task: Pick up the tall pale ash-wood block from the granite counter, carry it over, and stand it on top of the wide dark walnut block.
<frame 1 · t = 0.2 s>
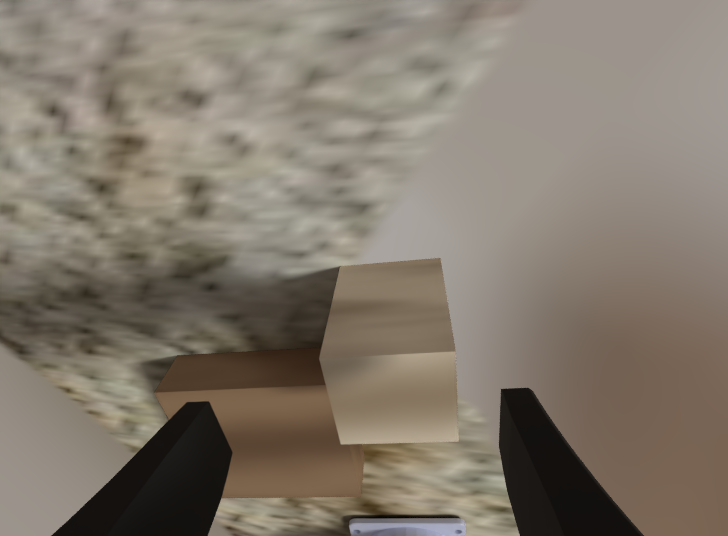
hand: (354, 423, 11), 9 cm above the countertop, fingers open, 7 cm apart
ash block: (394, 302, 20), on the countertop
walnut block: (279, 403, 25), on the countertop
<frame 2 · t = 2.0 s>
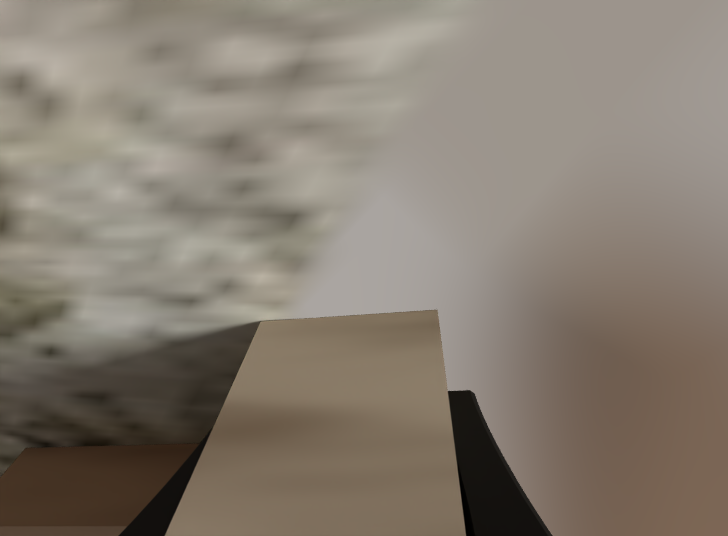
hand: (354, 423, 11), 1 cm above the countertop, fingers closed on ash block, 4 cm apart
ash block: (359, 380, 12), on the countertop, touching gripper
walnut block: (196, 509, 17), on the countertop
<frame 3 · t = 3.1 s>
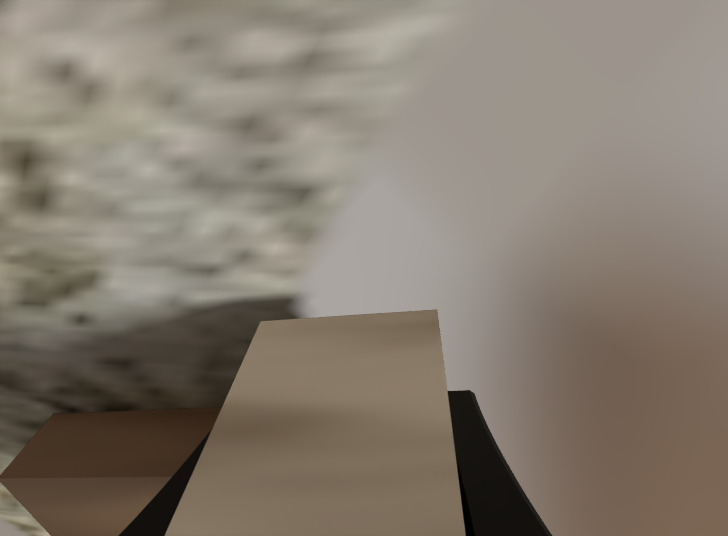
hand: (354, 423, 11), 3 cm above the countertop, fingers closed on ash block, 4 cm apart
ash block: (359, 380, 12), point 1 cm above the countertop, touching gripper
walnut block: (209, 474, 18), on the countertop
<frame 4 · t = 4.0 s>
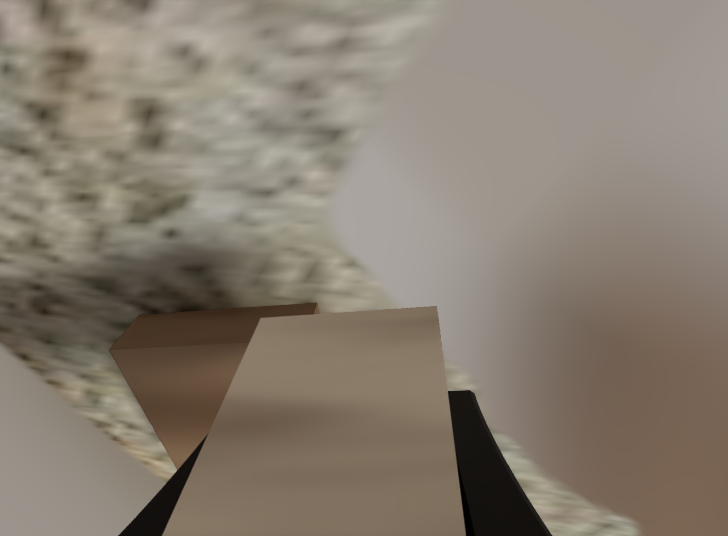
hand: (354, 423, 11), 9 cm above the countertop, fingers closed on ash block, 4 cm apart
ash block: (359, 377, 12), point 7 cm above the countertop, touching gripper
walnut block: (252, 371, 23), on the countertop
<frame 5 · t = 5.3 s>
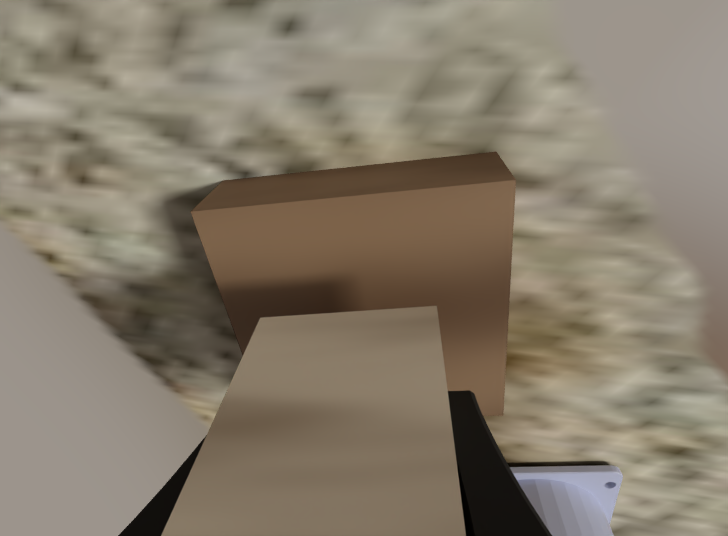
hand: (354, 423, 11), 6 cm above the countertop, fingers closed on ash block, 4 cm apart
ash block: (358, 376, 12), point 5 cm above the countertop, touching gripper
walnut block: (371, 276, 16), on the countertop
when the fingers open (6 cm above the countertop, at t = 6.2 s): ash block drops 2 cm, point 3 cm above the countertop.
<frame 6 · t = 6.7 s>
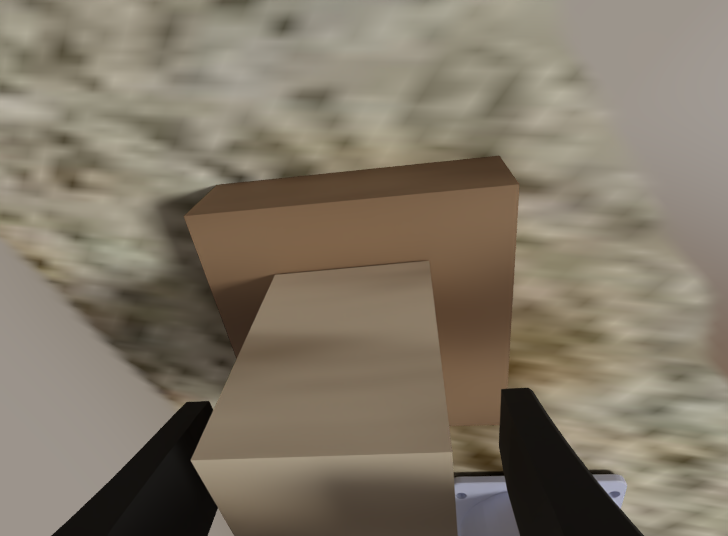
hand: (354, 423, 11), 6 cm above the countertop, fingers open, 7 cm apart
ash block: (361, 328, 13), point 3 cm above the countertop
walnut block: (370, 282, 16), on the countertop
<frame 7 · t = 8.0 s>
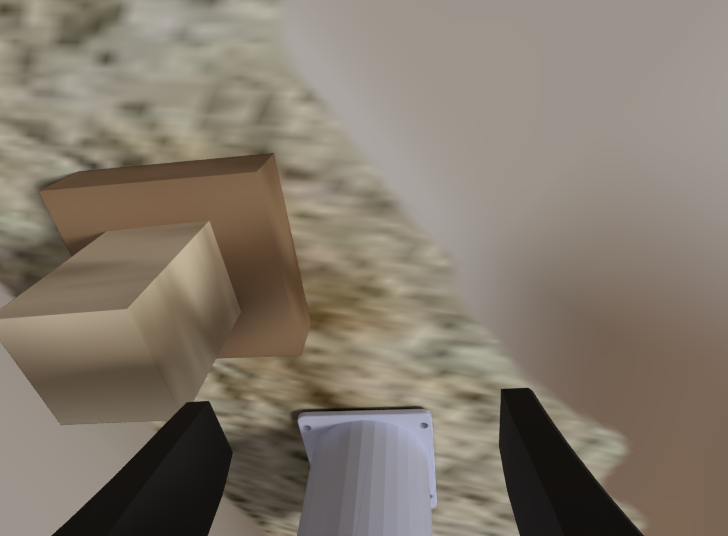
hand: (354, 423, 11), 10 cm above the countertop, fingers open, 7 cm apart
ash block: (176, 273, 18), point 2 cm above the countertop, touching walnut block
walnut block: (208, 248, 21), on the countertop, touching ash block
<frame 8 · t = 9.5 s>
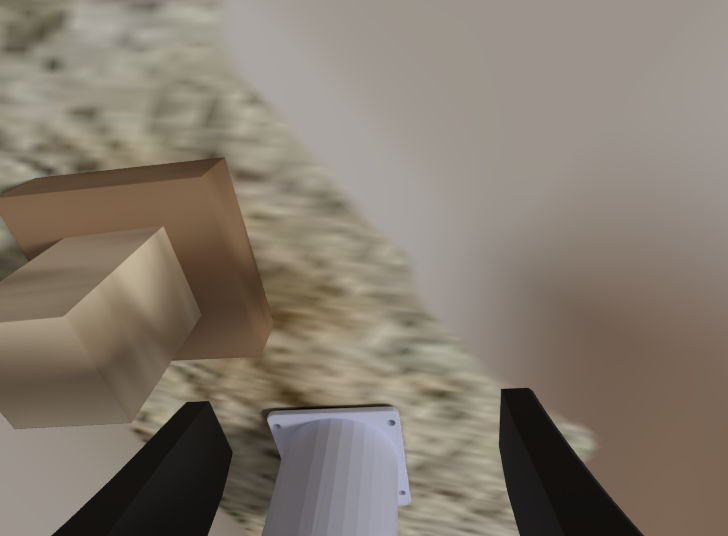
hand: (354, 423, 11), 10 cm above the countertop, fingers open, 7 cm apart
ash block: (136, 277, 19), point 2 cm above the countertop, touching walnut block
walnut block: (169, 252, 21), on the countertop, touching ash block
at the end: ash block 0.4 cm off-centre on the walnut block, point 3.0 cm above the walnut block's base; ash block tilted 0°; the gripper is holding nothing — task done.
